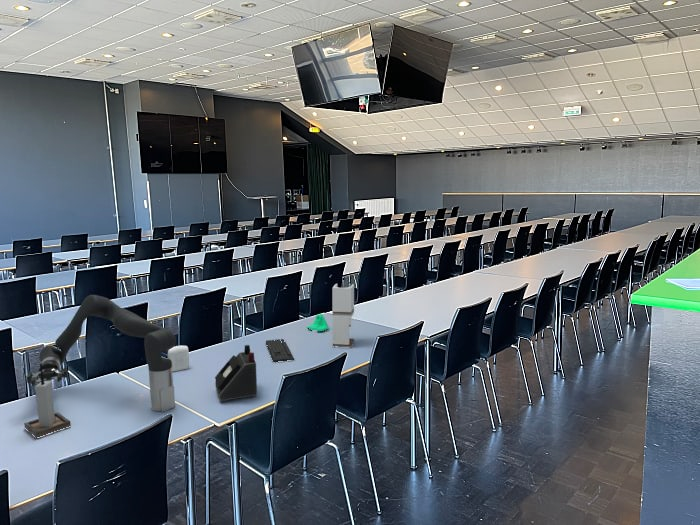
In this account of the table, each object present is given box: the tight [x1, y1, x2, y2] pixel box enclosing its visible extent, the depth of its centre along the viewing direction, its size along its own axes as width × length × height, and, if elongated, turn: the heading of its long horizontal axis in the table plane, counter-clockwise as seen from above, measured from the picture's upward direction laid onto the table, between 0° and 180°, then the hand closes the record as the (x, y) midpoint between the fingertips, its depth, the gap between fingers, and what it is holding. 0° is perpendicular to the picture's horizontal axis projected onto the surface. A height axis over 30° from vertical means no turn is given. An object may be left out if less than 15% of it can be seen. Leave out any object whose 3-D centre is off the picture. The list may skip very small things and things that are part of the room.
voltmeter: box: [214, 344, 258, 403], centre depth 225 cm, size 16×16×20 cm
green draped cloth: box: [306, 313, 330, 332], centre depth 321 cm, size 12×8×10 cm, turn 54°
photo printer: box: [167, 345, 190, 373], centre depth 254 cm, size 10×4×12 cm, turn 124°
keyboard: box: [264, 338, 295, 363], centre depth 282 cm, size 35×11×2 cm, turn 16°
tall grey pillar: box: [331, 283, 355, 348], centre depth 291 cm, size 11×11×35 cm
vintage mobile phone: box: [34, 362, 56, 427], centre depth 193 cm, size 4×5×25 cm
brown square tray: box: [24, 412, 72, 439], centre depth 194 cm, size 12×12×2 cm
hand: (46, 381), depth 201 cm, fingers open, 8 cm apart
